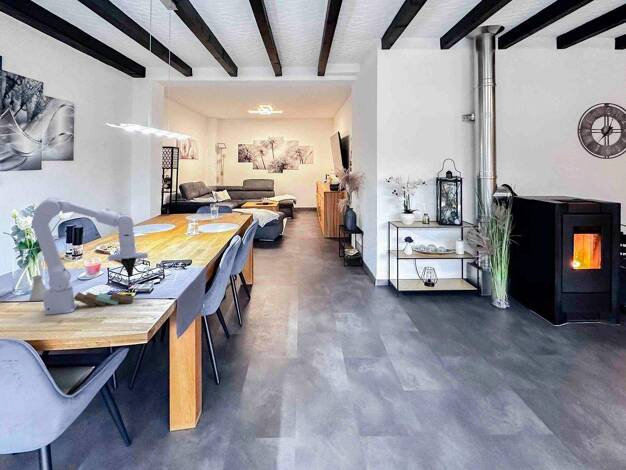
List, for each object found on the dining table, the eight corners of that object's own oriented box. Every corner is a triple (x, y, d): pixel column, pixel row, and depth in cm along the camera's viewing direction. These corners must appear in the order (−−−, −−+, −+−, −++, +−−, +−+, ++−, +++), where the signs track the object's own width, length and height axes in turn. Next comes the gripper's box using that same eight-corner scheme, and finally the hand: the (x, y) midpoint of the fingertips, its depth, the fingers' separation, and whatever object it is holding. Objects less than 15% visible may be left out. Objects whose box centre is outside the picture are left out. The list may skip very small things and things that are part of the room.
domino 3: (117, 305, 151) (96, 299, 149) (119, 301, 155) (98, 296, 152) (118, 301, 151) (97, 296, 148) (120, 298, 155) (100, 292, 152)
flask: (39, 302, 154) (36, 279, 152) (25, 301, 156) (21, 278, 154) (55, 296, 161) (51, 274, 159) (41, 295, 163) (37, 273, 161)
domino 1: (93, 307, 149) (73, 298, 146) (96, 303, 153) (76, 295, 150) (95, 304, 149) (75, 295, 146) (98, 300, 153) (78, 292, 150)
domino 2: (104, 306, 150) (83, 299, 147) (106, 302, 154) (86, 295, 151) (105, 303, 150) (85, 295, 147) (108, 299, 154) (88, 292, 151)
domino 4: (130, 303, 153) (109, 299, 150) (132, 300, 157) (111, 295, 154) (131, 300, 153) (110, 296, 150) (133, 296, 156) (112, 292, 154)
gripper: (105, 247, 147) (109, 280, 150) (144, 245, 151) (147, 276, 154) (109, 243, 154) (113, 275, 157) (147, 241, 158) (150, 272, 161)
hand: (130, 275), depth 156 cm, fingers closed
